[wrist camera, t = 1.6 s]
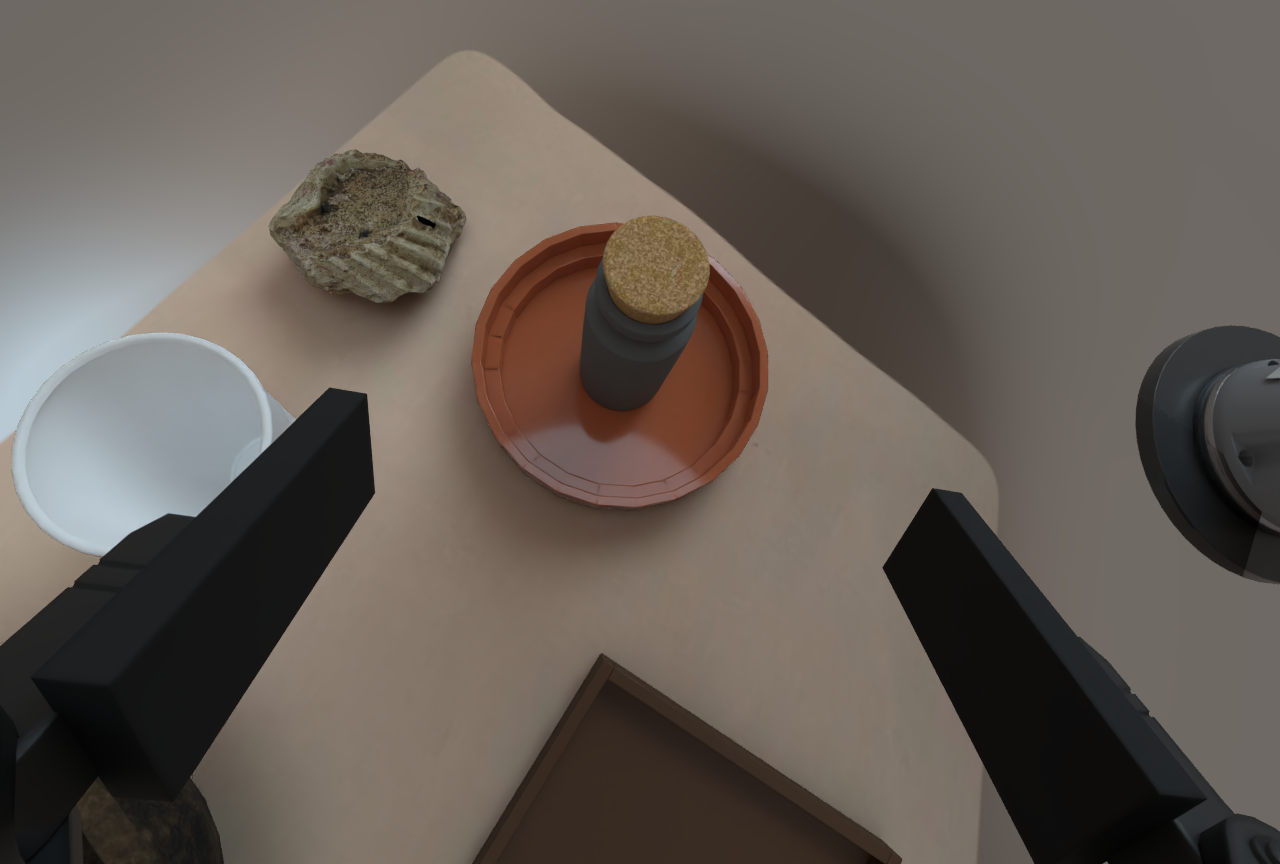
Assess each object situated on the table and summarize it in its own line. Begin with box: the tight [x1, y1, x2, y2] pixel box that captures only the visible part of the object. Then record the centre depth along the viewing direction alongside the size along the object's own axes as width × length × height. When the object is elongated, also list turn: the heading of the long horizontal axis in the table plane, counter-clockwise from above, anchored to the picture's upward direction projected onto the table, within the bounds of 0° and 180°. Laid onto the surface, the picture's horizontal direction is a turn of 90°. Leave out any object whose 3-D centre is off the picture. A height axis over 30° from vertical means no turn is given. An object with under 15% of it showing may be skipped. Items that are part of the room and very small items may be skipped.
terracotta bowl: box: [471, 223, 768, 511], centre depth 36 cm, size 19×19×4 cm
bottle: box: [580, 216, 710, 411], centre depth 30 cm, size 6×6×15 cm
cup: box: [11, 332, 296, 557], centre depth 28 cm, size 10×10×11 cm
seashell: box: [269, 150, 466, 303], centre depth 35 cm, size 11×7×10 cm
